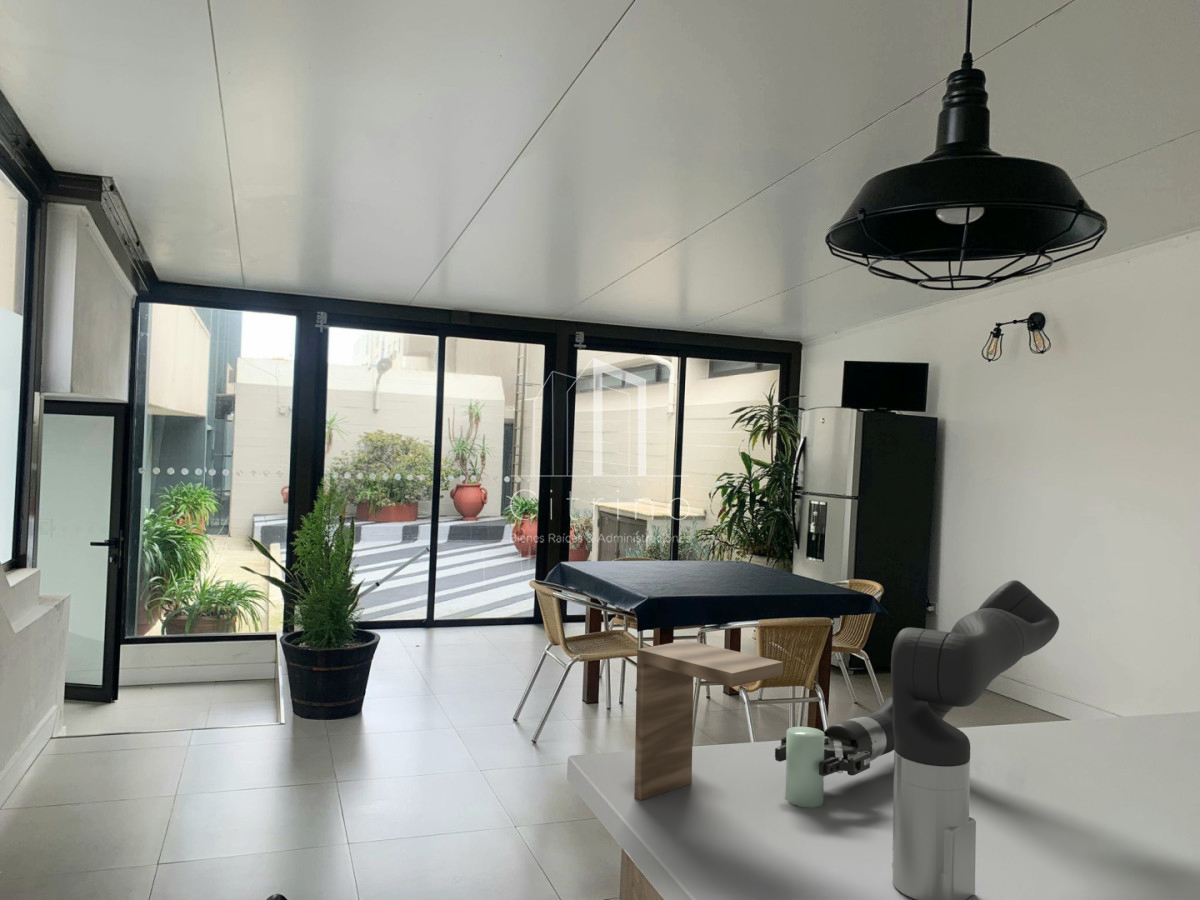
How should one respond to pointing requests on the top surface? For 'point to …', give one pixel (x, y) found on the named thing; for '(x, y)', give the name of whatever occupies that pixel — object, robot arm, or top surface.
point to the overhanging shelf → (680, 706)
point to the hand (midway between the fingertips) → (798, 762)
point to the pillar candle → (804, 766)
